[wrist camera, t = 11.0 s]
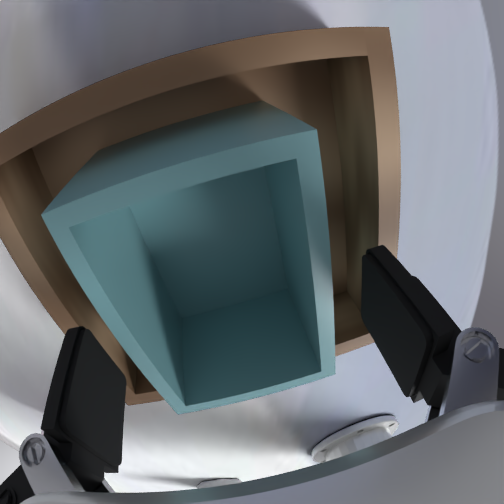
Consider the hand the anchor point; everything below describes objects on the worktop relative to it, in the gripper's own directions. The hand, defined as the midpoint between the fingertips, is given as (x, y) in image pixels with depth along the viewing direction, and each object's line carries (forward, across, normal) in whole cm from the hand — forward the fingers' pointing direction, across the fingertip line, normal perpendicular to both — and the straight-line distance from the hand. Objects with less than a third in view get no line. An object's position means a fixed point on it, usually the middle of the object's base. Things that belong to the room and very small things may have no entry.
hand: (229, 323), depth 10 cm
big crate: (+7, 0, -1) cm, 7 cm away
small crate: (+6, 0, -1) cm, 6 cm away
